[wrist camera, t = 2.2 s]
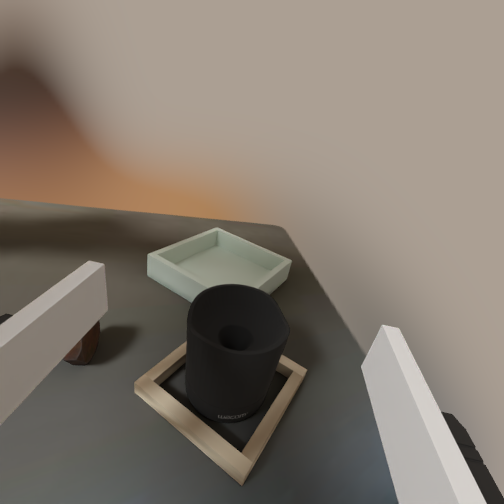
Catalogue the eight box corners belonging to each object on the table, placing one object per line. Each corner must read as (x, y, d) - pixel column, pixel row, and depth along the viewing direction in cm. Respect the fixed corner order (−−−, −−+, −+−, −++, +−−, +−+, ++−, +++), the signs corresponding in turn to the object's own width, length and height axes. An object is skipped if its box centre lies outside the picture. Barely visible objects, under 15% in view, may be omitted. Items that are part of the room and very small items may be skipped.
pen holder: (161, 396, 28) (164, 320, 23) (213, 339, 36) (223, 273, 31) (244, 450, 25) (266, 374, 20) (281, 374, 33) (303, 308, 28)
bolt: (-56, 356, 30) (98, 356, 32) (-107, 377, 25) (79, 375, 27) (-51, 301, 30) (102, 306, 33) (-101, 310, 25) (84, 315, 28)
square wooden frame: (134, 392, 28) (134, 382, 27) (216, 324, 38) (218, 316, 38) (242, 486, 23) (245, 476, 22) (303, 378, 33) (307, 369, 32)
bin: (147, 275, 45) (147, 254, 43) (214, 244, 59) (216, 227, 57) (233, 327, 38) (237, 304, 36) (286, 279, 52) (292, 260, 50)
